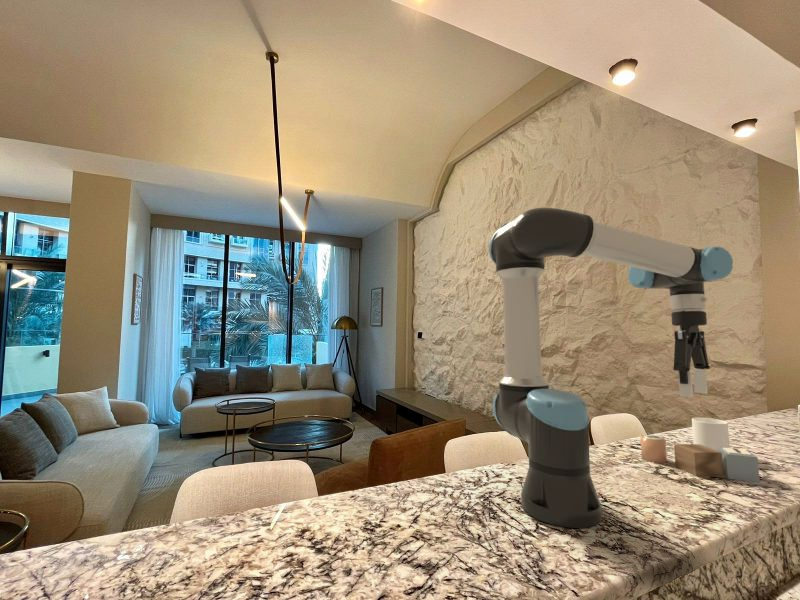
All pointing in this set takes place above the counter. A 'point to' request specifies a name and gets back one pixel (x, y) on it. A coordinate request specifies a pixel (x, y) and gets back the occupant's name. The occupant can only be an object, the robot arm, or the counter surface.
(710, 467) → the walnut block
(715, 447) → the cup
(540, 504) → the robot arm
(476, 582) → the counter surface
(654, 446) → the terracotta cylinder
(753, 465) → the slate block
